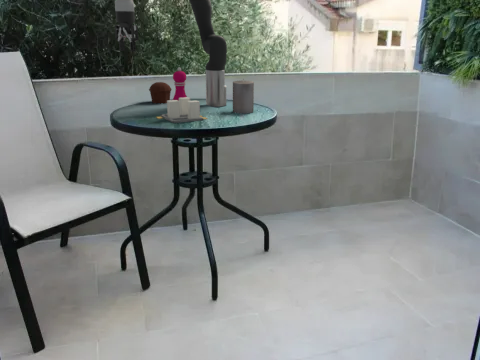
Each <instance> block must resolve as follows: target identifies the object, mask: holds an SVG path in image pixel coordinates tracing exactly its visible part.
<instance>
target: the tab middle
mask: <svg viewBox="0 0 480 360" xmlns="http://www.w3.org/2000/svg"><path fill="white" fill-rule="evenodd" d="M166 107H167V108H166V109H167V114H168V118H180V114H179V101H178V100H173V99H172V100H171V99H170V100H168V101H167V103H166Z"/></svg>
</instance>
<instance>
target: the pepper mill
mask: <svg viewBox="0 0 480 360" xmlns="http://www.w3.org/2000/svg"><path fill="white" fill-rule="evenodd" d="M172 79H173V81H174V82H173V83H174V86H175V93H174V95H173V97H172V100H178V101H179V98H183V97H188V96H187V94H186V89H185V86H186V80H187V74H186V73H185V71H182V68H181V67H180V66H179V67H177V71H175V72H174V73H173V75H172Z"/></svg>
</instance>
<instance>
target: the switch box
mask: <svg viewBox="0 0 480 360" xmlns="http://www.w3.org/2000/svg"><path fill="white" fill-rule="evenodd" d="M153 118H154V119H155V118H156V120H162V119H164V120H165V121H167V122H168V123H171V124H178V123H186V122H187V123H188V122H199V121H204V120H210V119H208V117H205V116H203V115H201V114H200V118H195V119H188V114H187V115H180V118H168V113H166V114H165V113H164V114H160V116H155V117H153Z"/></svg>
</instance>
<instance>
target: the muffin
mask: <svg viewBox="0 0 480 360" xmlns="http://www.w3.org/2000/svg"><path fill="white" fill-rule="evenodd" d="M148 90H149V92H150V98H151V102H152V104H157V103H160V104H161V103H163V104H167V101H168V100H171V92H172V88H171V86H170V85H169V84H168V83H167V82H164V81H159V82H154V83H153V84H151V85H150V87H149V88H148Z"/></svg>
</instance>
